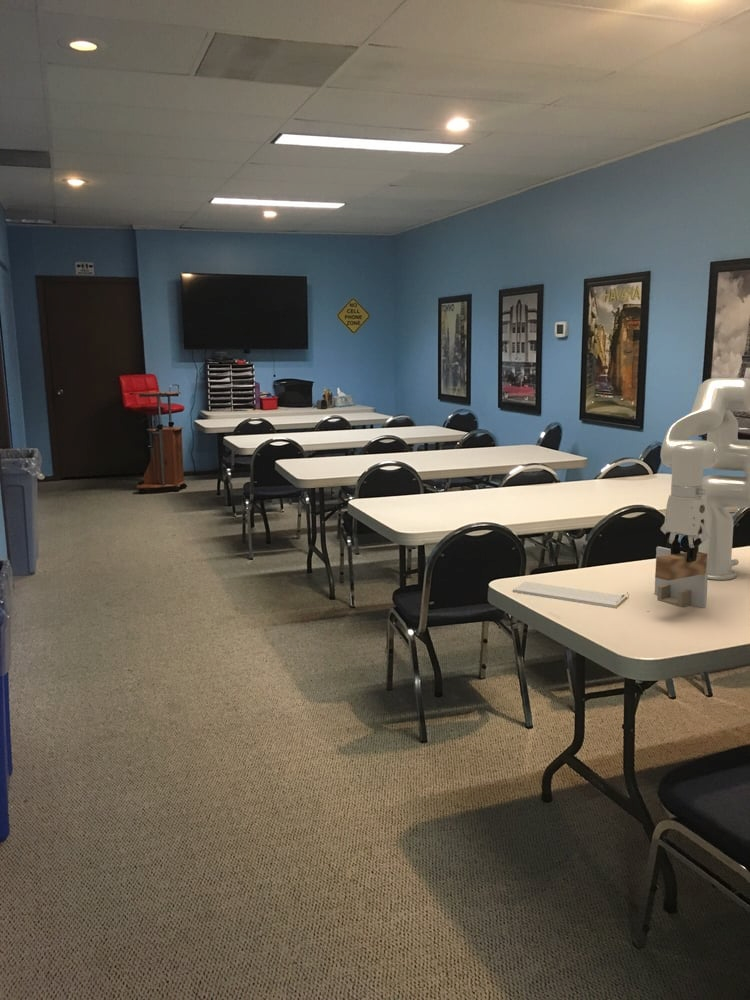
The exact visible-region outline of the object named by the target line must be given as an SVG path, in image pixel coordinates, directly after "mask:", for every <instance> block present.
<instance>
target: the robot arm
mask: <svg viewBox="0 0 750 1000" xmlns="http://www.w3.org/2000/svg"><path fill="white" fill-rule="evenodd" d="M691 408H692V409H691V412H690V413H688V414H686V415H684V416H683V417H681V418H679V419H678V420H677V421H675V422H674V423H672V424H671V425H670V427H669V428H668V429H667V431H666V433H665V436H664V439H663V441H662V444H661V448H660V461H661V463H662V464H663V465H664V466H666V467H668V468H671V482H670V483H671V484H670V485H671V486H670V494H669V495H668V499H667V501H666V502H667V503H666V507H665V508H666V509H665V516H664V523H663V524H662V526H661V527H660V531H661V532H662V533H663V534H664V535H665V537H666V538H667V540H668V543H669V544H670V549H671V554H677V553H680V552H682V551H681V550H682V549H681V548H682V547H681V546H682V543H681V541H680V538H681V535H682V536H687V539H688V546H687V548H686V552H687V562H693V561H696V558H697V552H702V553H707V557H708V558H709V562H708V580H713V581H725V580H726V581H727V580H728V581H729V580H732V579H735V578H736V576H737V572H736V571H735V570H733V569H732V568H733V567H734V566H737V565H739V563H740V562H739V560H738V559H737V558H736V559H732V556H733V555H732V553H733V540H734V539H733V537H734V519H733V516H732V515H731V512H730V511H729V510H728V509H727V507H730V508H743V509H750V439H739V438H738V437H739V436H738V435H739V434H738V433H739V422H738V419H737V417H736V416H735V415H734V414H733V412H732V411H739V412H740V411H743V412H745V411H746V412H750V378H746V377H713V378H708V379H706V380H704V381H703V382H702V383H701V384H700V385H699V386H698V387H697V394H696V396H695V400H694V403H693V406H692V407H691ZM703 435H706V440H696V439H695V440H694V439H691V438H695V437H699V436H703ZM709 469H710V470H711V469H712V470H714V471H715V470H717V471H724V472H725V471H729V472H730V471H731V472H743V473H744V474H745V475H731V474H708V475H706V476H704V470H709Z"/></svg>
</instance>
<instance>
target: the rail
mask: <svg viewBox="0 0 750 1000" xmlns="http://www.w3.org/2000/svg"><path fill="white" fill-rule="evenodd" d="M683 552H684V551H683ZM706 565H707V553H702V552H698V551H697V558H696V561H693V562H687V551H686V552H684V553H677V554H671V555H665V556H658V557H657V559H656V558H655V574H654V578H655V577H656V578H660V579H663V580H667V581H669V580H675V579H680V578H686V577H691V576H696V575H702V574H706Z"/></svg>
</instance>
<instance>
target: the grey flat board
mask: <svg viewBox="0 0 750 1000" xmlns="http://www.w3.org/2000/svg"><path fill="white" fill-rule="evenodd" d="M515 592H518V593H517V594H521V593H523V594H522V595H528V594H529V595H528V596H534V595H535V597H541V598H548V599H553V598H554V600H561V601H567V602H573V603H580V604H588V605H593V606H600V607H605V608H611V609H617V608H619V607H620V606H621V605H622V604H624V602H626V600H628V599H629V595H630V594H629V593H627V595H626V594H623V595H620V594H613V593H608V592H607V593H606V592H599V591H593V590H586V589H585V590H584V589H579V588H573V587H566V586H557V585H551V584H544V583H538V582H537V583H536V582H531V581H524V582H522V583H521V584H519V585H518V586H516V587H514V588H513V589H512V593H515ZM627 598H628V599H627Z"/></svg>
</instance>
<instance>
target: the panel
mask: <svg viewBox="0 0 750 1000" xmlns="http://www.w3.org/2000/svg"><path fill="white" fill-rule="evenodd" d="M655 551H656V552H655V553H656V554H655V560H656V559H657V557H658V556H665V555H671V548H667V547H662V546H656V548H655ZM680 553H684V551H681V552H680ZM708 562H709V558H708V557H707V565H706V574H702V575H696V576H691V577H686V578H680V579H675V580H669V581H667V580H663V579H660V578H656V577H655V576H654V595H657V601H660V602H664V603H667V604H670V605H673V606H676V607H680V608H681V607H682V608H683V607H685V606H689V605H690V606H691V605H692V606H694V607H699V608H702V609H704V608H707V599H708V598H707V597H708V581H709V579H708Z"/></svg>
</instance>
